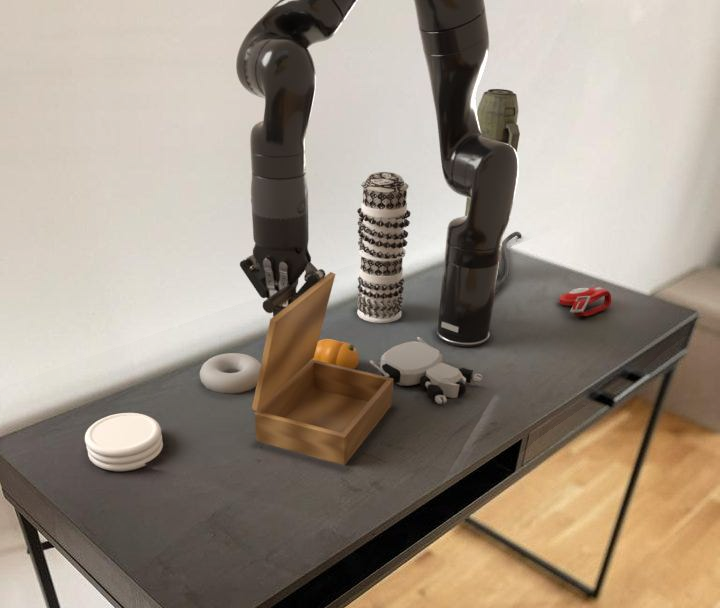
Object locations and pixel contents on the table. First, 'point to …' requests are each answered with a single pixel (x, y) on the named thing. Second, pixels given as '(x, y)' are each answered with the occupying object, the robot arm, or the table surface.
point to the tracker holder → (585, 300)
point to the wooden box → (324, 411)
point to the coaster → (123, 441)
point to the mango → (336, 353)
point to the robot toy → (425, 370)
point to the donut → (230, 373)
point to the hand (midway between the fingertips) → (284, 326)
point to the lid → (291, 336)
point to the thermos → (498, 121)
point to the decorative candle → (382, 247)
